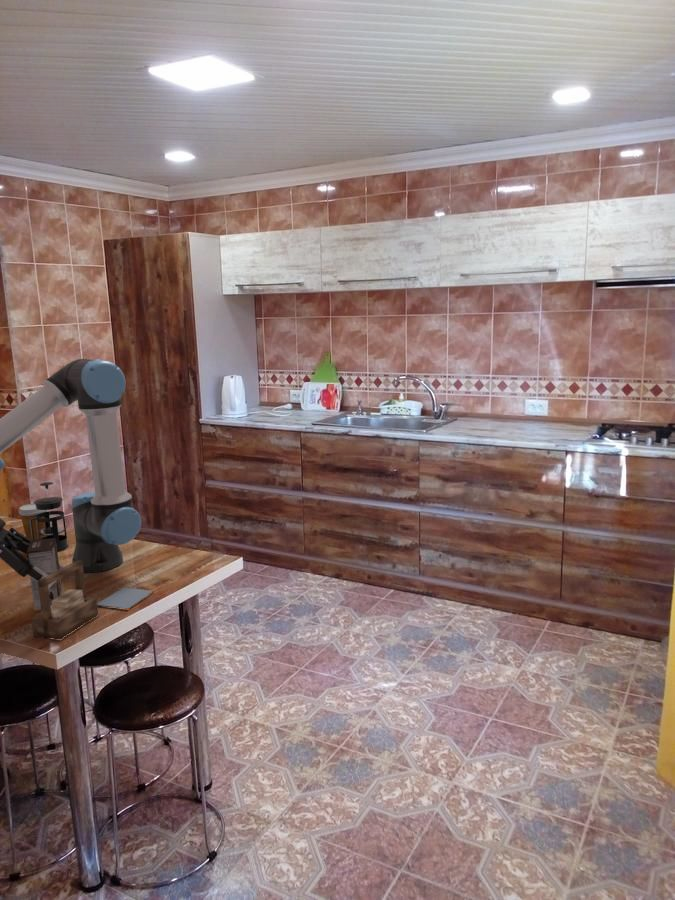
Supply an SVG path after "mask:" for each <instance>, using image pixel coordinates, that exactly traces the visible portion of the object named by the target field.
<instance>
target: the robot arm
mask: <svg viewBox="0 0 675 900" xmlns="http://www.w3.org/2000/svg"><path fill="white" fill-rule="evenodd" d="M126 384H127V383H126V377H125V374H124V372H123V371H122V369H121V368H120V367H119V366H118V365H117V364H115V363H113V362H111V361H107V360H105V359H98V358H97V359H94V358H93V359H92V358H91V359H89V358H80V359H79V358H78V359H75V360H72V361H70V362H68V363H67V364H65V365H63V367H61V368H60V369H58V370H56V372H54V373H53V374H51V376H49V377H48V378H46V379H45V380H44V381H43V384H42V387H41V388H39V389H38V390H37V391H35V392H34V393H32V394H31V395H30V396H29V397H27V398H25V400H23V401H22V402H21V403H19V404H18V405H16V406H15V407H14V408H12V409H11V410H10V411H9V412H7V413H6V414H5V415H3V416H1V418H0V455H1V454H2V453H3V452H5V451H6V450H8V449H9V448H10V447H11V446H13V445H14V444H15V443H17V442H18V441H19V440H21V439H22V438H23V437H25V436H26V435H27V434H28V433H29V432H31V431H32V430H33V429H35V428H36V427H38V425H40V424H41V423H42V422H44V421H45V420H47V419H48V418H49V417H50V416H51V415H53V414H54V413H56V412H57V411H58V410H59V409H61V408H68V407H69V406H70V405H72V404H73V403H75V402H77V403H78V404H77V405H78V410H79V411H81V412H82V413H83V415H85V424H86V431H87V439H88V447H89V455H90V462H91V464H90V465H91V469H92V478H93V487H94V491H93V492H91V491H90V492H85V493H82V494H78V495H76V496H74V497H73V498H72V500H71V510H72V517H73V518H72V520H73V527H74V536H75V547H74V551H73V556H72V560H71V563H73V562H75V561H77V560H80V561H82V563H83V572H84V573H97V572H98V573H99V572H104V571H109V570H112V569H114V568H117V567H118V566H120V565H122V564H123V562H124V556H123V551H122V550H121V548H120V546H121V545H122V546H123V545H126V544H129V543H130V542H131V541H133V540H134V539H135V538H136V536H137V535H138V533H139V532H140V531H141V526H142V517H141V515H140V514H139V511H137V510H136V509H135V508H134V505H133V496H132V494H131V493H130V492H128V491H127V490H126V482H125V475H124V473H125V472H124V467H123V466H124V464H123V454H122V447H121V446H122V445H121V439H120V430H119V423H118V422H119V421H118V410H120V408H121V407H122V400H121V399H122V396H123V394H124V393H125V391H126V386H127V385H126ZM5 464H6V463H5V460H3V459H2V457H0V472H1V471H2V470H3V469H4V467H5ZM6 525H7V524H6V521H4V519H2V518H0V560H2V561H4V563H6V564H7V565H8V566H9V567H10V568H12V570H13V571H14V572H16V573H17V574H18V575H19V576H21V577H23V578H26V576H29V578H30V577H32V578H33V579H34V580H36V581H37V582H38V580H40V579H42V578H44V577H46V576H48V574H46V573H45V572H43V571H42V570H41V569H39V568H38V567H36V566H34V567H33V566H32V565H31V564H30V563H29V562H28V558H26V557H25V556H24V555H23V554H22V553H24V554H26V555H27V550H28V547H29V544H30V541H32V540H31V539H29V538H28V537H26V535H24V534H22V533H20V532H19V531H18V530H17V529H15V528H14V527H11V528H9V530H7V529H5V528H4V527H5V526H6ZM21 552H22V553H21ZM63 567H65V566H64V565H63V564H61V563H60V562H59V569H61V568H63ZM55 582H56V581H54V582H52V583H50V584H49V585H48V589H49V588H50V587H51V586H52V585H53V584H54V583H55Z"/></svg>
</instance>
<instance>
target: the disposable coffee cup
mask: <svg viewBox="0 0 675 900" xmlns="http://www.w3.org/2000/svg"><path fill="white" fill-rule="evenodd" d="M43 512H48V510H37V509H36V505H35V504H34V502H33V503H28V504H24V505H22V506H20V507H19V509H18V514H19V517H20V519H21V523H22V526H23V530H24V534H25V535H24V536H26V537H28V538H29V539H31V540H32V536H31V528H30V518H35V517H36V515H37V514H40V513H43ZM40 518H44V516H43V517H40ZM32 526H33V535H34V540H38V534H37V525H36V520H32ZM38 526H39V531H40V530H42V529H44V528H45V522H38ZM43 537H46V536H42V535H40V539H41V538H43Z"/></svg>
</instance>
